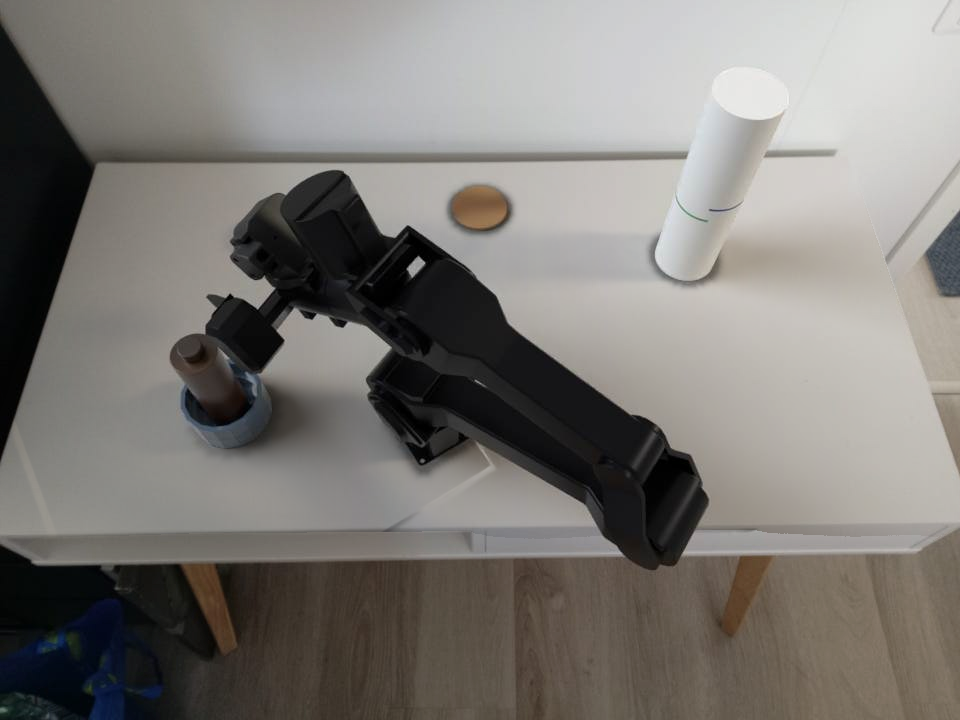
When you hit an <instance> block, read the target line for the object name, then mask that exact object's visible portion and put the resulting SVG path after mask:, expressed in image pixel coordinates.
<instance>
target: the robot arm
mask: <svg viewBox="0 0 960 720" xmlns="http://www.w3.org/2000/svg"><path fill="white" fill-rule="evenodd" d="M232 235H233V236H232V238H231V239H230V240H229V244H230V245H231V246H232V247H233V249H234V250H233V252H232V253H231V254H230V255H229V259H230V261H231V262H232V263H233V264H234V265H235V266H236V267H237V268H238V269H239V270H241V271H242V272H243V273H244V274H245V275H246V276H247V277H248V278H249V279H251V280H253V281H261V280H263V279H265V280H266V281H267V282H268V284H269V285H270V286H271V287H273V288H274V289H273V290H272V292H271V293H270V294H269V295H268V296H267V297H266V299H265V300H264V301H263V302H262V303H261V304H260V306H259V307H258V308H257V307H256V306H254V305H253V304H252V303H250V302H248V301H247V300H245V299H244V298H241V297H237V296H235V297H234V295H233V294H232V293H228V295H226V297H223V296H221V295H218V294H214V293H213V294H212V293H208V294H207V295H206V300H208V301H209V302H210V303H211V305H212V306H214V307H215V310H214V311H213V312H212V313H211V316H210V319H209V320H208V321H207V322H206V323H205V325H204V327H205V329H204V334H205V335H206V336H207V337H208V338H209V339H210V340H211V341H212V342H213V343H214V344H215V345H216V346H217V347H218V348H219V349H220V350H221V352H222V353H223V355H224V356H226V357H227V358H228V359H231V360H232V361H233V362H234V363H235V364H236V365H237V366H238V367H239V368H240V369H241V370H242V371H245V372H248V373H251V374H258V375H260V374H262V373H263V372H264V371H265V370H266V368H267V367H268V366H269V364H270V363H271V362H272V361H273V360H274V358H275V357H276V356H277V354H278V353H279V352H280V351H281V349H282V348H283V347H284V346H285V342H286V341H285V339H284V338H283V336H282V335H281V334H280V333H279V332H278V331H277V330H278V329H279V328H280V327H281V326H282V324H283V323H284V321H286V319H287V318H288V317H289V316H290V315H291V313H292V312H293V311H294V310H295V309H297V310H298V312H299V313H300V314H301V315H302V316H303V317H304V319H307V320H309V321H313V320H314V318H315V317H317V315H320V316H324V317H327V318H328V319H329V321H330V322H331V323H332V324H333V325H334V327H337V328H340V329H344V328H346V327H345V326H347V324H348V323H352V324H355V325H359V326H363V327H367V329H369V330H370V331H371V332H372V333H374V334H375V335H376V336H377V337H378V338H379V339H381V340H382V341H383V342H384V343H386V344H387V345H388V346H389V347H390V349H389V350H388V351H387V352H386V353H385V354H384V355H383V357H382V358H381V359H380V361H379V362H378V363H377V364H376V365H375V366H374V367H373V369H372V370H371V371H370V372H369V374H368V375H367V376H366V377H365V381H366V382H365V383H366V385H367V387H368V389H370V390H369V391H368V393H367V394H366V397H367V400H368V402H369V404H370V405H371V407H372V408H373V409H374V411H375V413H376V414H377V416H378V417H379V418H380V420H381V421H382V423H383V425H386V426H387V427H388V428H389V429H390V430H391V431H392V432H393V433H394V436H395V439H396V441H397V442H399V443H401V444H403V443H404V444H405V445H406V447H407V448H408V450H409V452H410V453H411V455H412V457H413V459H414V460H415V462H416V463H417V464H418V465H419V466H425V465H427V464H429V463H430V462H432V461H434V460H436V459H438V458H439V457H441V456H442V455H444V454H445V453H447V452H449V451H450V450H452V449H454V448H455V447H458V446H459V445H461V444H463V443H464V442H466V441H467V440H469V439H471V440H473V441H475V442H476V443H478V444H479V445H482V446H483V447H485V448H487V449H488V450H490V451H492V452H494V453H495V454H497V455H499V456H500V457H502V458H504V459H506V460H507V461H510V462H511V463H513V464H515V465H516V466H517V467H520V468H521V469H523V470H525V471H526V472H528V473H530V474H532V475H533V476H535V477H536V478H539V479H540V480H542V481H544V482H545V483H547V484H549V485H551V486H553V487H554V488H555V489H558V490H559V491H561V492H562V493H564V494H566V495H568V496H569V497H571V498H573V499H575V500H577V501H578V502H580V503H581V504H583V505H584V506H585V507H586V508H587V511H588V512H589V514H590V516H591V518H592V519H593V521H594V523H595V525H596V526H597V528H598V530H599V532H600V534H601V535H602V537H603V538H604V539H605V540H607V541H608V542H610V543H611V544H613V545H614V546H616V548H617V549H618V550H619V551H620V553H621V554H622V555H623V556H624V557H625V558H626V559H627V560H629V561H630V562H632V563H634V564H635V565H636V566H638V567H641V568H643V569H644V570H649V571H656V570H657V569H658V568H659V567H660V566H664V567H675V566H676V565H677V564H678V563H679V560H681V558H682V555H683V554H684V552H685V550H686V548H687V546H688V544H689V542H690V541H691V539H692V537H693V535H694V533H695V532H696V529H697V528H698V526H699V524H700V522H701V520H702V518H703V516H704V515H705V513H706V511H707V508H708V507H709V505H710V498H709V496H708V494H707V492H706V491H705V490H704V489H703V487H704V483H703V479H702V478H701V474H700V473H699V470H698V468H697V465H696V463H695V461H694V459H693V456H692V455H691V454H690V453H687V452H684V451H680V450H677V449H673V448H672V447H671V445H670V442H669V440H668V438H667V436H666V434H665V432H664V431H663V429H662V428H661V427H659V425H657V424H656V423H655V422H654V421H652V420H650V419H648V418H647V417H644V416H641V415H639V414H631V413H629V412H628V411H627V410H625V409H624V408H622V407H621V406H619V405H618V404H617V403H616V402H614V401H613V400H611V399H610V398H609V397H607V396H606V395H605V394H603V392H601V391H599V390H598V389H597V388H595V387H594V386H592V385H591V384H590V383H588V382H587V381H585V380H584V379H583V378H581V377H580V376H579V375H577V374H576V373H575V372H573V371H572V370H571V369H569V368H568V367H566V366H565V365H564V364H563V363H561V362H559V360H557V359H555V358H554V357H553V356H552V355H550V354H548V353H547V352H546V351H544V350H543V349H542V348H540V347H539V346H538V345H536V344H535V343H534V342H532V341H531V340H529V339H528V338H527V337H526V336H524V335H523V334H521V333H520V332H519V331H517V329H516V328H514V327H513V326H512V325H511V324H509V322H508V320H507V317H506V315H505V312H504V309H503V307H502V305H501V303H500V301H499V298H498V296H497V294H495V293H494V292H493V291H492V290H491V289H490V288H489V287H487V286H486V285H485V284H484V283H483V282H482V281H481V280H479V279H478V277H477V276H476V275H475V273H474V272H473V271H472V269H470V268H469V267H468V266H466V265H465V264H464V263H462V262H461V261H460V260H458V259H457V258H456V257H454V256H453V255H451V254H450V253H448V252H447V251H446V250H444V248H441V247H440V246H439V245H437V244H435V242H433V241H432V240H430V239H429V238H427V237H426V236H425V235H423V234H422V233H421V232H419V231H418V230H416V229H415V228H413V226H411V225H408V224H407V225H405V226H404V228H402V230H401V231H400V232H399V233H398V234H397V235H396V236H395V237H394V236H388V235H385V234H383V233H382V232H381V230H380V229H379V227H378V224H377V223H376V222H375V220H374V218H373V216H372V215H371V213H370V211H369V209H368V208H367V205H366V203H365V202H364V201H363V198H362V197H361V195H360V193H359V192H358V189H357V188H356V186H355V184H354V182H353V180H352V178H351V177H350V176H349V175H348V174H347V173H346V172H344V170H341V169H329V170H324V171H322V172H318V173H315V174H314V175H313V174H312V175H311V176H309V177H307V178H306V179H304V180H302V181H300V182H299V183H298V184H297V185H295V186H293V188H292V189H290V190H289V191H288V192H287V194H285V193H282V192H275V193H272V194H270V195H269V196H267V197H265V198H262V199H261V200H259V201H258V202H256V203H255V204H254V206H253V207H252V208H251V209H250V210H249V211H248V212H247V214H245V216H243V218H242V219H241V220H240V221H239V222H238V223H237V224H236V226H235V227H234V229H233V233H232ZM418 257H419V258H420V259H421V260H422V261H423V263H424V264H423V265H422V266H421V267H420V269H418V271H417V272H416V273H415V274H414V275H413V276H412V275H411V273H410V271H409V269H408V268H409V267H410V266H411V265H412V264H413V262H414V261H416V259H417V258H418ZM421 460H424V461H423V462H421Z"/></svg>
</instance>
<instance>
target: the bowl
mask: <svg viewBox="0 0 960 720" xmlns="http://www.w3.org/2000/svg"><path fill="white" fill-rule="evenodd" d="M226 360H227V362H228V363H229V365H230V367H231V368H232V370H233V372H234V373H235V375H236V377H237V378H238V380H239V382H240V383H241V385H242V386H243V388H244V390H245V391H246V393H247V395H248V396H249V398H250V400H251V401H252V403H253V406H252V408H251V409H250V410H249V411H248V412H247V413H246V414H245V415H244V416H243V417H242V418H241V419H239V420H237V421H235V422H233V423H232V424H230V425H225V426H219V427H217V426H216V425H215V423H214V422H213V421H212V419H211V418H210V417H209V415H208V414H207V413H206V411H205V410H204V409H203V407H202V406H201V405H200V403H199V402H198V401H197V399H196V398H195V397H194V395H193V394H192V393H191V391H190V390H189V389H188V387H187V386H186V385H185V384H184V386H183V387H182V389H181V391H180V394H179V396H180V397H179V399H180V401H179V408H180V411H181V413H182V414H183V417H184V419H185V421H186V422H187V423H188V424H189V426H190V427H191V428H192V429H193V430H194V432H195V434H197V435H198V436H199V437H200V438H201V439H202V440H203V441H204V442H206V443H207V444H208V445H210V446H212V447H217V448H222V449H233V448H239V447H242V446H245V445H246V444H248V443H250V442H252V441H255V439H257V438H258V437H259V436H260V435H261V433H263V431H264V430H266V428H267V427H268V424H269V422H270V420H271V418H272V414H273V404H272V398H271V396H270V394H269V392H268V391H267V389H266V387H265V385H264V384H263V382H262V380H261V378H260V375H259V374H251V373H248V372H245V371H242V370H241V369H240V368H239V367H238V366H237V365H236V364H235V363H234V362H233V361H232V360H231V359H230V358H226Z"/></svg>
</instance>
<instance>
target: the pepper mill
mask: <svg viewBox="0 0 960 720" xmlns="http://www.w3.org/2000/svg"><path fill="white" fill-rule="evenodd" d="M168 359H169V360H168V361H169V364H170V366H171V368H172V369H173V370H174V371H175V373H176V375H177V376H178V377H179V378H180V380H181V381H182V382H183V383H184V385H186V386H187V387H188V389H189V390H190V391H191V393H192V394H193V395H194V397H195V398H196V399H197V401H198V402H199V403H200V405H201V406H202V407H203V409H204V410H205V411H206V413H207V414H208V415H209V417H210V418H211V419H212V421H213V422H214V423H215V425H216V426H217V427H219V426H225V425H230V424H232V423H233V422H235V421H237V420H239V419H241V418H242V417H243V416H244V415H245V414H246V413H247V412H248V411H249V410H250V409H251V408H252V406H253V403H252V401H251V400H250V398H249V396H248V395H247V393H246V391H245V390H244V388H243V386H242V385H241V383H240V382H239V380H238V378H237V377H236V375H235V373H234V372H233V370H232V368H231V367H230V365H229V363H228V362H227V360H226V359H227V358H226V357H225V354H224V353H223V352H222V351H221V350H220V349H219V348H218V347H217V346H216V345H215V344H214V343H213V342H212V341H211V340H210V339H209V338H208V337H207V336H206V335H205V333H200V332H198V333H197V332H196V333H190V334H188V335H184V336H183V337H181V338H179V340H177V341H176V342H175V343H174V344H173V346H172V347H171V349H170V351H169V357H168Z"/></svg>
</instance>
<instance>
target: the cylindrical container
mask: <svg viewBox="0 0 960 720" xmlns="http://www.w3.org/2000/svg"><path fill="white" fill-rule="evenodd" d="M790 97H791V96H790V92H789V90H788V88H787V86H786V84H784V82H783V81H782V80H781V79H780V78H778V77H777V76H775V75H774V74H772V73H771V72H769V71H766V70H763V69H760V68H756V67H752V66H736V67H731V68H727V69H725V70H724V71H722V72H720V73H719V74H718V75H716V77H714V79H713V81H712V84H711V87H710V90H709V93H708V95H707V98H706V101H705V105H704V107H703V109H702V113H701V116H700V119H699V121H698V125H697V128H696V129H695V130H696V131H695V134H694V136H693V140H692V142H691V145H690V148H689V150H688V154H687V156H686V159H685V163H684V165H683V168H682V171H681V174H680V177H679V179H678V184H677V185H676V189H675V192H674V194H673V198H672V200H671V203H670V206H669V209H668V213H667V215H666V218H665V221H664V223H663V226H662V230H661V233H660V235H659V238H658V241H657V244H656V247H655V251H654V259H655V262H656V264H657V266H658V268H659V269H660V270H661V271H662V272H663V273H664V274H666V275H667V276H669V277H670V278H673V279H675V280H678V281H683V282H693V281H697V280H701V279H703V278H705V277H706V276H707V275H708V274H709V273H710V272H711V271H712V268H713V267H714V264H715V262H716V260H717V258H718V256H719V255H720V252H721V250H722V248H723V245H724V243H725V241H726V239H727V237H728V235H729V233H730V231H731V228H732V226H733V224H734V222H735V220H736V218H737V215H738V213H739V211H740V209H741V206H742V205H743V203H744V201H745V198H746V197H747V195H748V192H749V189H750V188H751V186H752V183H753V181H754V179H755V177H756V175H757V173H758V170H759V168H760V166H761V164H762V162H763V160H764V158H765V155H766V153H767V151H768V149H769V147H770V145H771V143H772V141H773V138H774V136H775V134H776V132H777V130H778V128H779V125H780V123H781V121H782V119H783V117H784V115H785V112H786V111H787V108H788V106H789V104H790Z"/></svg>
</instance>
